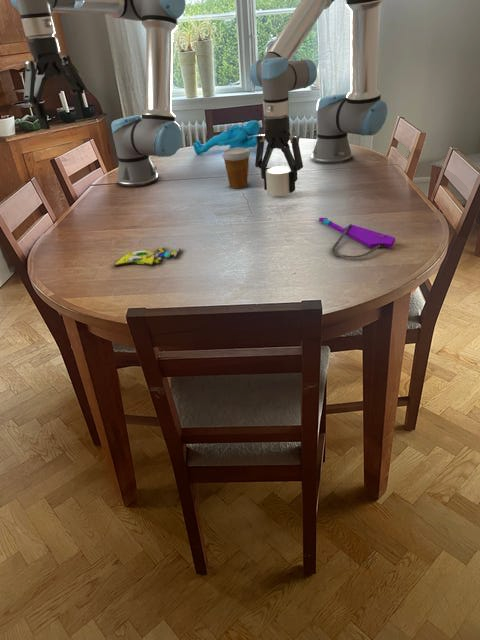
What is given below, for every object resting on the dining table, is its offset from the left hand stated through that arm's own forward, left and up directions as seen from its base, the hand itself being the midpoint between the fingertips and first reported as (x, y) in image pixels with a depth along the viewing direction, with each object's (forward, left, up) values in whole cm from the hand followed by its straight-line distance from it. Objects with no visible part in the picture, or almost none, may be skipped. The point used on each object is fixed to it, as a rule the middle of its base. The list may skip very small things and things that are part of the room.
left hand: (64, 123), depth 136 cm
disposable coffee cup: (0, +53, -29) cm, 60 cm away
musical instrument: (+60, +55, -29) cm, 86 cm away
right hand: (+18, +59, -27) cm, 68 cm away
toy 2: (+39, +8, -29) cm, 49 cm away
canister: (+18, +59, -28) cm, 68 cm away
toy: (-46, +70, -29) cm, 89 cm away
